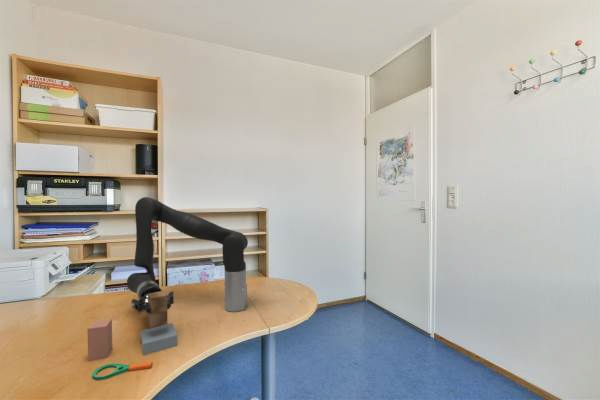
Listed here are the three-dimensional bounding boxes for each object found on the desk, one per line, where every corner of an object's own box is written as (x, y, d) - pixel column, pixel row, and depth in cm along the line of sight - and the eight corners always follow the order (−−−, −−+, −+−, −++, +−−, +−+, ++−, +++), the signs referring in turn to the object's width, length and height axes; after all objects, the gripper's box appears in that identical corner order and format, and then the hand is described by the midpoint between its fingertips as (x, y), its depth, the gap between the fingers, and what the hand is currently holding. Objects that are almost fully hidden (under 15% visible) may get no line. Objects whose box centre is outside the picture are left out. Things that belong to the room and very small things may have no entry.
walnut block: (163, 318, 98) (163, 290, 98) (167, 323, 94) (167, 295, 94) (148, 322, 95) (147, 293, 95) (151, 328, 91) (150, 298, 91)
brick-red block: (112, 348, 91) (111, 319, 91) (107, 357, 87) (106, 326, 86) (94, 351, 90) (93, 321, 89) (88, 360, 85) (87, 328, 85)
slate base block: (172, 333, 102) (172, 322, 102) (177, 346, 94) (177, 335, 93) (141, 341, 96) (140, 330, 96) (143, 356, 88) (143, 344, 88)
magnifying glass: (87, 383, 76) (87, 377, 76) (98, 369, 82) (98, 363, 82) (149, 374, 80) (148, 368, 80) (154, 361, 85) (154, 356, 85)
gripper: (127, 287, 101) (134, 302, 88) (169, 279, 110) (182, 292, 97) (127, 307, 101) (134, 326, 88) (169, 298, 110) (182, 313, 97)
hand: (159, 308), depth 92 cm, fingers closed on walnut block, 5 cm apart
